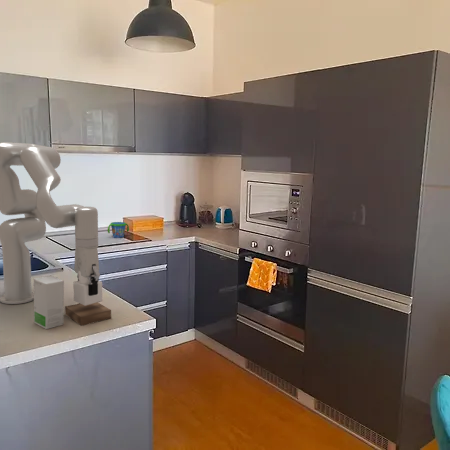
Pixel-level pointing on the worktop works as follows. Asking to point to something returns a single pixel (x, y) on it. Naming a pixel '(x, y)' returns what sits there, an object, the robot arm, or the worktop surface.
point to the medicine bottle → (86, 291)
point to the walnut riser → (87, 313)
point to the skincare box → (48, 301)
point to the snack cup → (118, 229)
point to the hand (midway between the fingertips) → (87, 291)
